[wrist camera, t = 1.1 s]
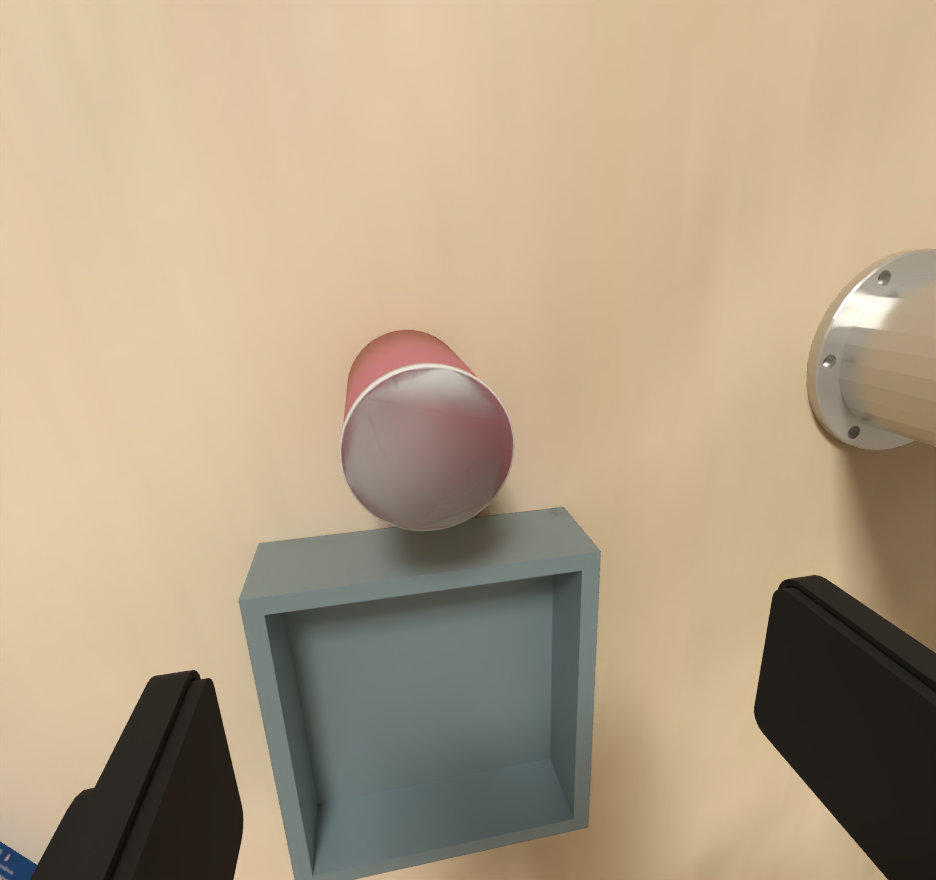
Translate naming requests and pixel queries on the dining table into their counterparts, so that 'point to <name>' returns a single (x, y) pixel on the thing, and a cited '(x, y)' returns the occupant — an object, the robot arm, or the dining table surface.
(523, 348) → the dining table surface
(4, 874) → the pasta box
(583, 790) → the tote
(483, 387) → the soup can
